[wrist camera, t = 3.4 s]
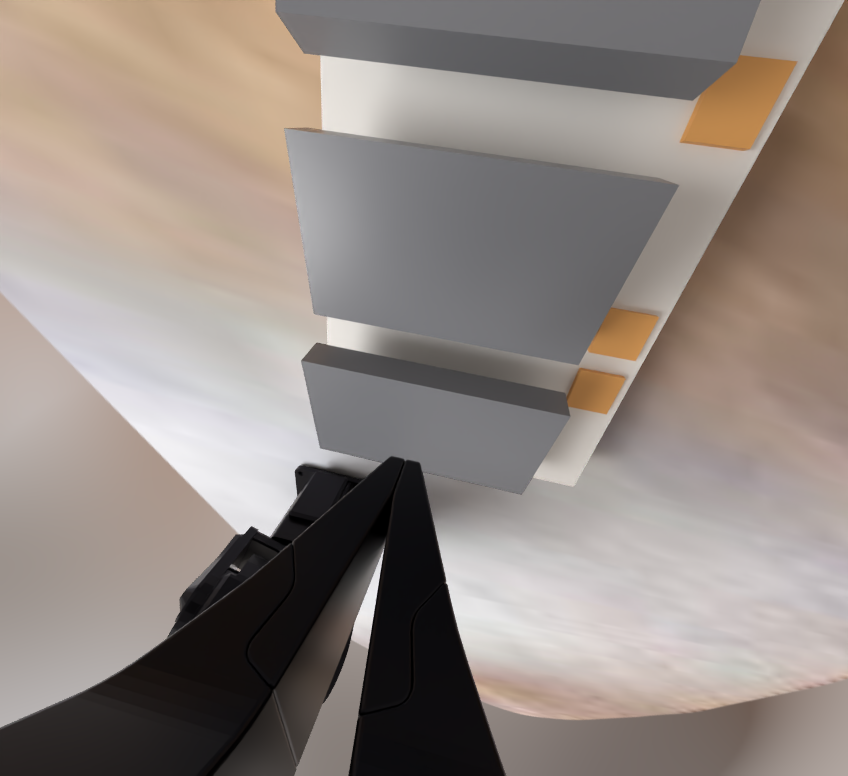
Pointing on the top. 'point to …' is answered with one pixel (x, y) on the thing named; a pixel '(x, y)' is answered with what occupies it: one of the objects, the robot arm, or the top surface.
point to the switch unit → (599, 149)
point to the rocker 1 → (537, 38)
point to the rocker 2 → (467, 240)
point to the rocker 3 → (432, 416)
